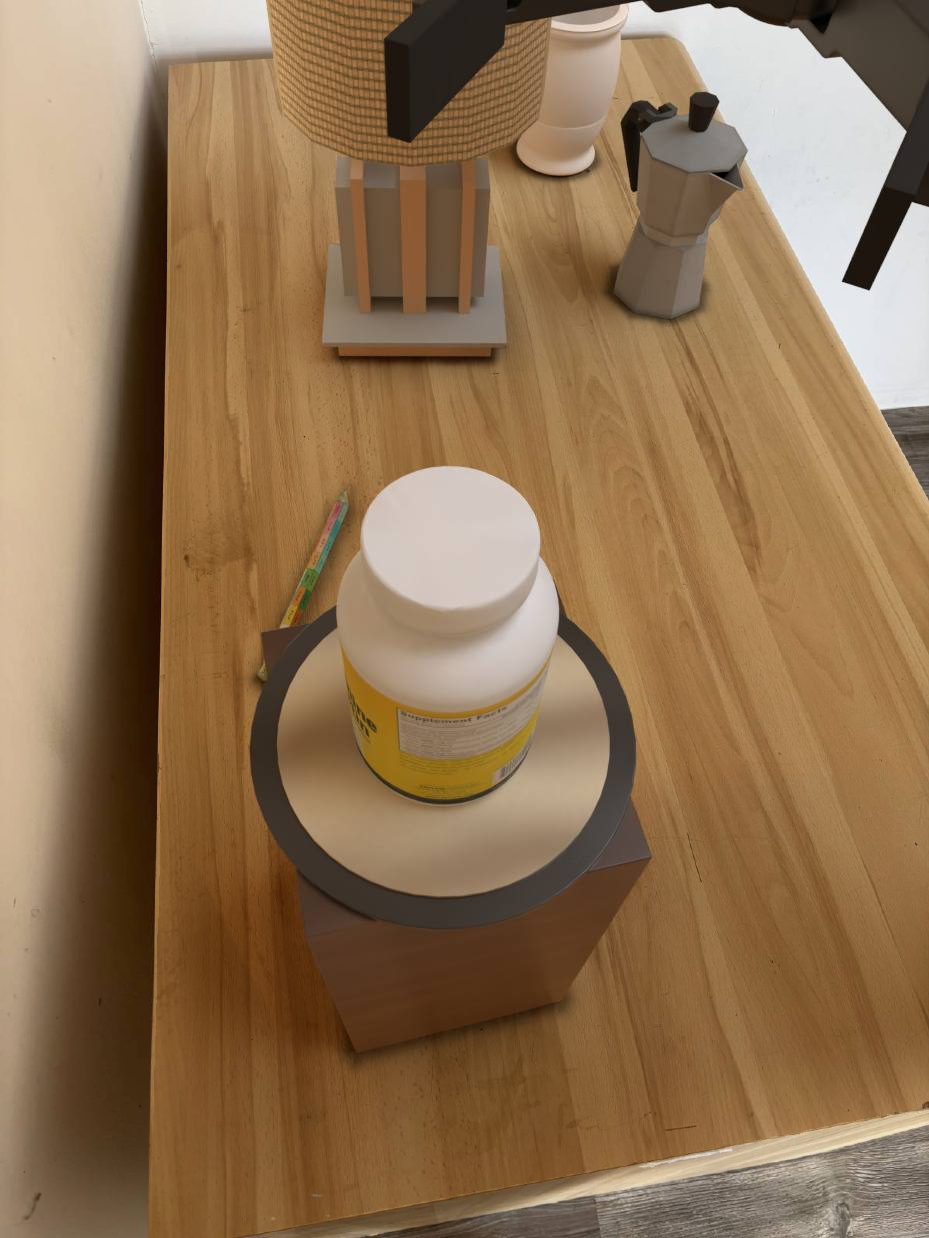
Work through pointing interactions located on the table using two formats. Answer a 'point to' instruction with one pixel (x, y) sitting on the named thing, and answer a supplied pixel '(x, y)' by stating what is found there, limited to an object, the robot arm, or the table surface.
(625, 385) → the table surface
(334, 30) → the desk lamp
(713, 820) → the table surface
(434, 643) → the pill bottle
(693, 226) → the coffee maker
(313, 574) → the pencil
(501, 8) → the robot arm
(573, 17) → the jar
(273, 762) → the tall brown block
